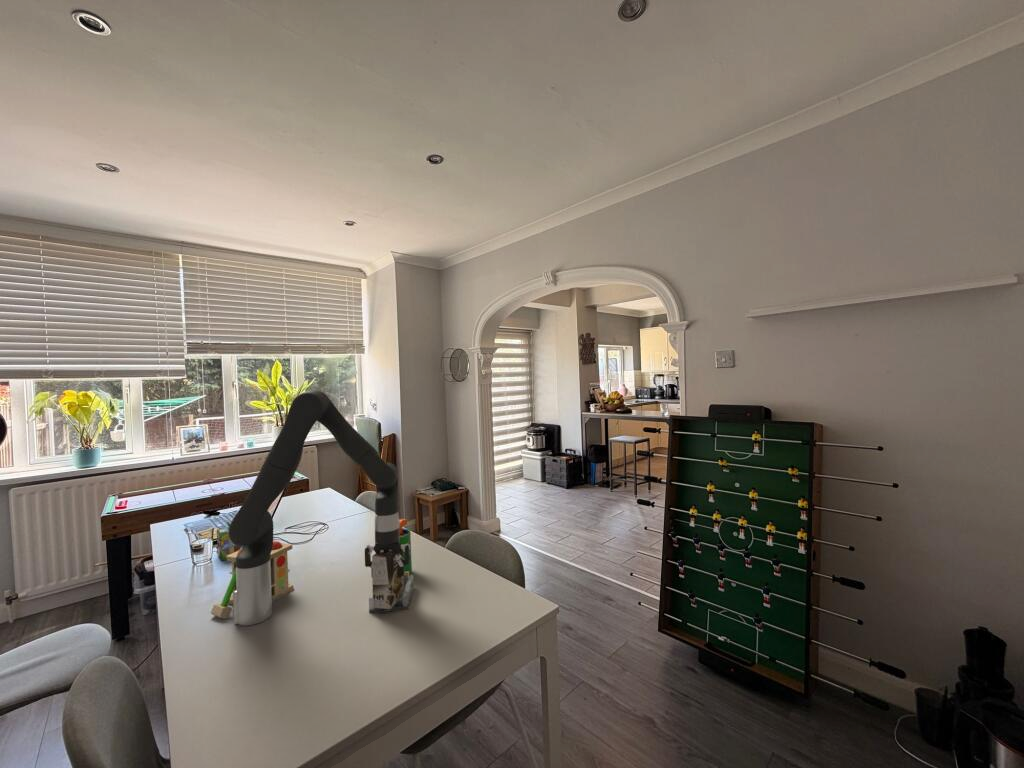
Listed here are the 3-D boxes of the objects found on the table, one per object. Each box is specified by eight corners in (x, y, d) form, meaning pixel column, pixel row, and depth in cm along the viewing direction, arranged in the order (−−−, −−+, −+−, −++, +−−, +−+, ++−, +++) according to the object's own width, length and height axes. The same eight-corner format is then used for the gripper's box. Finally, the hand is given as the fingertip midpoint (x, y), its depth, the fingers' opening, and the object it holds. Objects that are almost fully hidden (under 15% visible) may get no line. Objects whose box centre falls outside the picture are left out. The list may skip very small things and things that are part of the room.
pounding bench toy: (233, 624, 127) (231, 565, 127) (200, 617, 132) (198, 560, 132) (294, 588, 149) (293, 538, 149) (264, 583, 154) (262, 534, 154)
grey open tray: (369, 612, 132) (368, 593, 132) (378, 590, 146) (378, 573, 146) (407, 609, 133) (407, 590, 133) (413, 587, 147) (413, 570, 147)
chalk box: (246, 555, 180) (245, 520, 180) (221, 561, 174) (220, 526, 174) (241, 549, 187) (240, 515, 187) (217, 555, 180) (215, 521, 180)
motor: (380, 576, 157) (379, 522, 157) (397, 566, 165) (396, 515, 165) (401, 581, 152) (399, 526, 152) (417, 571, 160) (416, 519, 160)
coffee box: (391, 609, 129) (390, 557, 129) (372, 607, 130) (370, 556, 130) (404, 594, 138) (403, 545, 138) (386, 593, 139) (385, 544, 139)
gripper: (360, 532, 130) (362, 585, 130) (408, 529, 131) (409, 582, 131) (366, 523, 137) (368, 574, 137) (411, 521, 139) (412, 571, 139)
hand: (388, 577), depth 134 cm, fingers closed on coffee box, 7 cm apart
